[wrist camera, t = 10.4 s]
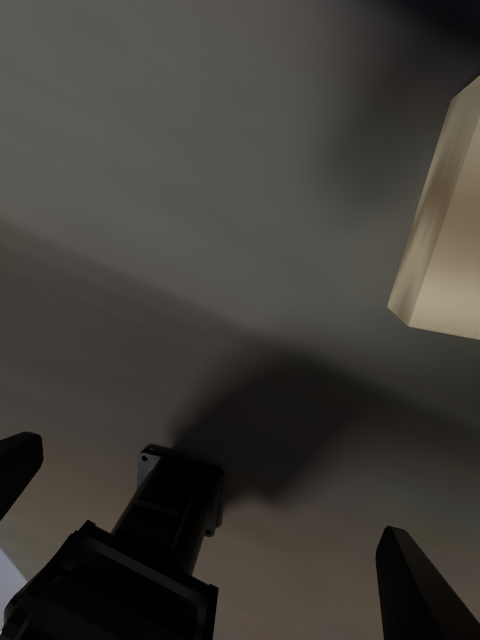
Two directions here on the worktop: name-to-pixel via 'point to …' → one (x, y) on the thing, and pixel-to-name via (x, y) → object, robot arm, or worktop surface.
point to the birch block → (446, 231)
